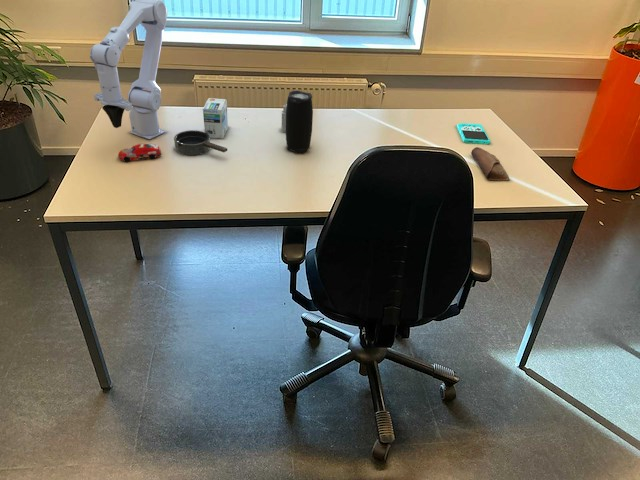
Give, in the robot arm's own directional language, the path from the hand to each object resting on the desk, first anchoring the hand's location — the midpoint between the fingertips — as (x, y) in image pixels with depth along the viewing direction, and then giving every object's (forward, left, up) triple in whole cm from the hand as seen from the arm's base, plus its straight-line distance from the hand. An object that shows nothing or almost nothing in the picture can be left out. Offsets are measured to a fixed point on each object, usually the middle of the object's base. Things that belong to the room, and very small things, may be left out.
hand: (117, 126), depth 168 cm
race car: (+8, 0, -9) cm, 12 cm away
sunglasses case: (+106, +63, -9) cm, 124 cm away
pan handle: (+27, +15, -5) cm, 32 cm away
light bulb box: (+15, +30, -9) cm, 35 cm away
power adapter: (+35, +47, -9) cm, 60 cm away
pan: (+17, +15, -8) cm, 25 cm away
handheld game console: (+93, +87, -9) cm, 128 cm away
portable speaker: (+46, +36, -9) cm, 59 cm away
